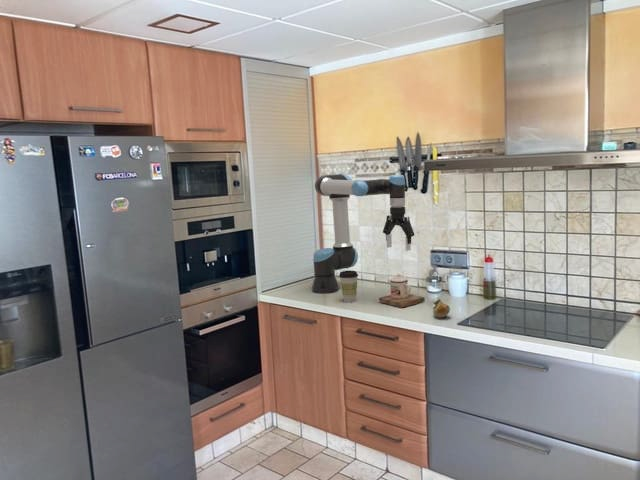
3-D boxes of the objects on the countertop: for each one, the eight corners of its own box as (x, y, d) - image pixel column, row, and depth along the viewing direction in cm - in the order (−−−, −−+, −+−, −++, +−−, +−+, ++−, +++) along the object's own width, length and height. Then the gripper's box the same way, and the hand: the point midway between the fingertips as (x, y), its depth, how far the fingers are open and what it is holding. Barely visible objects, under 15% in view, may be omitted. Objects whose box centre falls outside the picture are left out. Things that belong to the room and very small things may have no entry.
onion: (431, 319, 233) (431, 302, 232) (433, 314, 241) (432, 297, 239) (449, 320, 231) (449, 302, 230) (450, 315, 239) (449, 297, 237)
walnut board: (379, 302, 266) (379, 297, 266) (402, 296, 275) (401, 292, 275) (401, 308, 253) (401, 303, 253) (424, 302, 262) (424, 297, 262)
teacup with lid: (386, 297, 266) (385, 274, 264) (398, 293, 272) (398, 271, 270) (404, 300, 257) (403, 277, 255) (416, 297, 262) (416, 274, 261)
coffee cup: (344, 304, 267) (343, 275, 265) (337, 299, 276) (335, 271, 274) (362, 301, 270) (361, 272, 268) (354, 297, 279) (352, 269, 277)
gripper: (375, 206, 268) (376, 247, 271) (410, 208, 248) (410, 252, 251) (386, 204, 272) (387, 245, 275) (421, 207, 252) (422, 250, 255)
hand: (398, 248), depth 263 cm, fingers open, 13 cm apart
